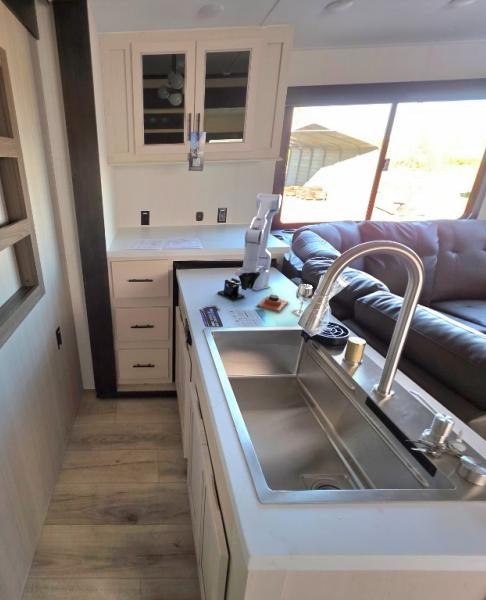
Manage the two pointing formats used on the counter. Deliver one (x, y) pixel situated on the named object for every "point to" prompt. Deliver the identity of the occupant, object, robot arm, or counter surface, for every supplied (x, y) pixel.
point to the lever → (240, 284)
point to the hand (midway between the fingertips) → (246, 288)
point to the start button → (273, 298)
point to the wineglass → (303, 295)
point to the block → (272, 304)
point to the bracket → (231, 290)
